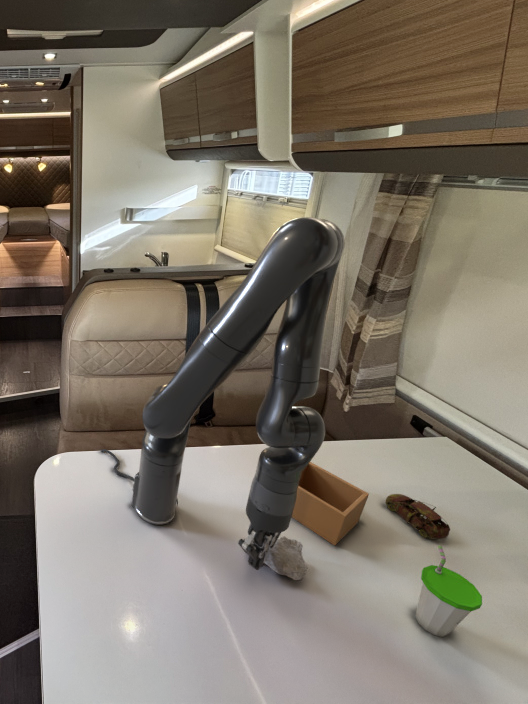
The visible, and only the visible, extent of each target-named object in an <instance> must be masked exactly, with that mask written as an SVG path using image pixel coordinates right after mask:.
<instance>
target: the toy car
mask: <svg viewBox="0 0 528 704" xmlns="http://www.w3.org/2000/svg"><path fill="white" fill-rule="evenodd" d="M384 503H385V505H387V506H386V507H387V509H388V510H389V511H391V512H395V513H396V514H397V515H398V516H400V517H401V518H402V519H403V520H404V521H405V522H406V523H408V524H409V525H411V526H412V528H414V529H416V530H417V531H418V532H419V535H420V536H421V537H423V538H429V539H432V540H441V539H446V538H448V536H449V535H450V532H451V526H450V525H449V523H447V521H446V519H444V518H443V517H442V516H441V515H440V514H438V513H437V512H436V511H435V510H436V508H437V507H436V506H434V505H433V508H432V507H430V506H431V504H429V503H427V502H424V501H419V500H417V499H414V498H411V497H410V496H408V495H406V494H405V495H404V494H402V493H392V494H389V495H388V496H387V497H386V498H385V502H384ZM428 505H429V506H428Z"/></svg>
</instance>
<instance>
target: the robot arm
mask: <svg viewBox="0 0 528 704" xmlns="http://www.w3.org/2000/svg"><path fill="white" fill-rule="evenodd" d="M345 245H346V242H345V236H344V233H343V231H342V230H341V229H340V228H339V226H338V225H336V224H335V223H334V222H332V221H330V220H328V219H326V218H319V217H310V216H302V217H296V218H294V219H290V220H289V221H287V222H285V223H283V224H282V225H281V226H279V227H278V228H277V229H276V230H275V232H273V234H272V235H271V237H270V238H269V240H268V242H267V243H266V245H265V246H264V248H263V249H262V250H261V252H260V254H259V256H258V258H257V260H256V261H255V262H254V264H253V265H252V267H251V269H250V270H249V272H248V273H247V275H246V277H244V279H243V280H242V282H241V283H240V285H238V287H236V289H235V290H234V292H232V293H231V295H230V296H228V298H227V299H226V300H225V302H223V304H222V305H221V306H220V307H219V309H218V310H217V311H216V312H215V314H214V315H213V316H211V318H210V320H208V322H207V323H206V325H205V326H204V327H203V328H202V330H201V331H200V332H199V334H198V335H197V336H196V338H195V339H194V341H193V342H192V344H191V345H190V347H189V349H188V350H187V352H186V354H185V355H184V357H183V359H182V361H181V363H180V365H179V366H178V368H177V370H176V372H175V373H174V375H173V377H172V378H171V380H170V381H169V382H167V383H165V384H162V385H159V386H157V387H156V388H155V389H154V390H153V391H152V393H151V394H150V396H149V397H148V399H147V401H146V402H145V404H144V406H143V409H142V414H141V415H142V416H141V420H142V424H143V427H144V429H145V431H144V434H143V437H142V441H141V449H140V459H139V467H138V472H137V473H135V475H134V477H133V476H131V475H128V474H126V473H123V472H120V471H118V467H119V465H120V459H119V458H118V457H117V455H115V454H114V453H113V452H112V451H110V450H109V449H105V448H102V449H100V452H101V453H107V454H109V455H110V456H111V457H112V458H113V459H114V460H115V462H116V464H115V465H114V466H113V472H114V473H115V474H117V475H119V476H121V477H123V478H126V479H129V480H131V481H132V482H133V485H132V499H131V507H132V508H133V509H134V510H135V512H136V514H137V515H138V516H139V517H140V518H141V519H142V520H144V521H145V522H147V523H150V524H153V525H158V526H159V525H160V526H163V525H167V524H169V523H171V522H172V521H173V520H174V518H175V515H176V507H177V508H178V506H179V500H178V495H179V494H178V493H179V487H180V481H181V475H182V469H183V462H184V456H185V452H186V451H185V450H186V448H187V443H188V438H189V433H190V429H191V422H192V418H193V416H194V415H195V414H196V412H197V411H198V410H199V408H200V407H201V406H202V404H203V403H204V402H205V401H206V400H207V399H208V398H209V397H210V396H211V395H212V394H213V393H214V392H215V391H216V390H217V389H219V387H220V386H221V385H223V384H224V383H225V381H226V380H227V379H228V378H229V377H231V375H232V374H233V373H234V372H235V371H236V370H237V369H238V368H239V367H240V366H242V364H243V363H244V362H245V361H246V360H247V359H248V358H249V356H250V355H251V354H252V353H253V352H254V351H255V349H256V348H257V347H258V346H259V344H260V343H261V341H262V340H263V339H264V337H265V335H266V333H267V332H268V330H269V327H270V326H271V324H272V322H273V320H274V318H275V316H276V314H277V313H278V311H279V310H280V308H281V307H282V306H283V305H284V304H285V306H284V310H283V314H282V318H281V320H280V324H279V327H278V330H277V333H276V337H275V340H274V347H273V351H272V362H271V373H270V381H269V384H268V387H267V388H266V391H265V394H264V397H263V399H262V401H261V403H260V405H259V408H258V410H257V413H256V418H255V430H256V434H257V436H258V438H259V439H260V441H261V442H262V443H263V444H264V445H265V446H268V447H266V448H264V449H262V450H261V452H260V453H259V457H258V460H257V465H256V470H255V473H254V476H253V478H252V481H251V485H250V489H249V494H248V497H247V502H246V505H245V514H246V516H247V518H248V521H249V522H250V523H249V525H248V529H247V535H248V536H247V537H246V538H240V539H239V540H238V543H237V544H238V546H239V547H240V548H241V549H242V551H243V552H245V554H247V555H249V556H248V560H247V563H248V564H249V565H250V566H251V567H252V568H253V569H255V570H256V571H258V570H259V569H261V568H262V567H263V565H264V563H263V562H264V558H265V555H266V554H267V553H268V551H269V548H272V547H274V544H275V543H276V541H277V539H279V538H280V537H281V534H282V533H283V532H285V531H287V530H288V529H289V527H290V523H291V520H292V513H293V510H294V506H295V503H296V498H297V489H298V486H299V482H300V478H301V474H302V471H303V470H304V469H305V468H306V466H307V465H308V464H309V463H310V462H311V461H312V460H313V458H315V456H316V454H317V453H318V452H319V450H320V449H321V447H322V445H323V443H324V440H325V436H326V424H325V421H324V419H323V417H322V415H321V414H320V413H319V412H318V411H317V410H316V409H314V408H312V407H309V406H304V405H303V406H298V405H297V406H294V405H295V404H296V403H298V402H300V401H303V400H305V399H309V398H312V397H314V396H315V395H316V394H317V392H318V389H319V380H320V372H321V363H322V353H323V343H324V342H323V341H324V333H325V326H326V325H325V324H326V317H327V313H328V312H327V311H328V305H329V302H330V301H329V300H330V296H331V292H332V288H333V284H334V281H335V277H336V275H337V272H338V268H339V265H340V262H341V259H342V255H343V252H344V249H345ZM105 451H106V452H105Z"/></svg>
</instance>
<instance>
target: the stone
mask: <svg viewBox="0 0 528 704" xmlns="http://www.w3.org/2000/svg"><path fill="white" fill-rule="evenodd" d="M302 554H303V544H302V542H301V541H298V540H297V539H295V538H291V539H290V538H289V537H286V536H279V538H278V539H277V541H276V543H275V544H274V547H272V548H269V551H268V553H267V554H266V555H265V558H264V562H263V564H264V565H266V566H268V567H269V568H270V569H271V570H272V571H273V572H275V573H277V574H278V575H280V576H281V575H282V576H286V577H288V578H290V579H292V580H294V581H300V580H302V579H303V578H304V576H305V575H306V573H307V571H308V566H307V564H306V562H305V560H304V557H303V555H302Z"/></svg>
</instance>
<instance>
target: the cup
mask: <svg viewBox="0 0 528 704" xmlns="http://www.w3.org/2000/svg"><path fill="white" fill-rule="evenodd" d="M437 548H438V551H439V554H440V557H441V560H440V562H439V564H438V565H433V564H430V565H427V566H425V567H423V568H422V570H421V576H420V579H421V581H422V583H421V588H420V592H419V597H418V602H417V605H416V611H415V616H414V617H415V619H416V621H417V623H418V625H419V626H420V627H422V628H423V629H424V631H426V632H427V633H430V634H431V635H432V636H435V637H440V638H444V637H447V636H449V634H450V633H451V632H452V631H453V630H455V628H456V627H458V626H459V624H461V622H462V621H464V620H465V619H466V618H467V616H469V614H470V613H472V612H473V611H476V610H479V609H481V607H482V606H483V595H482V594H481V593H480V592H479V590H478V588H477V587H476V586H475V585H474V584H473V583H472V582H471V581H469V579H466V578H465V576H462V575H461V574H460V573H458V572H455V571H453V570H452V569H449V568H447V567H445V564H446V561H447V557H446V554H445V551H444V549H443V546H442V545H437Z"/></svg>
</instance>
